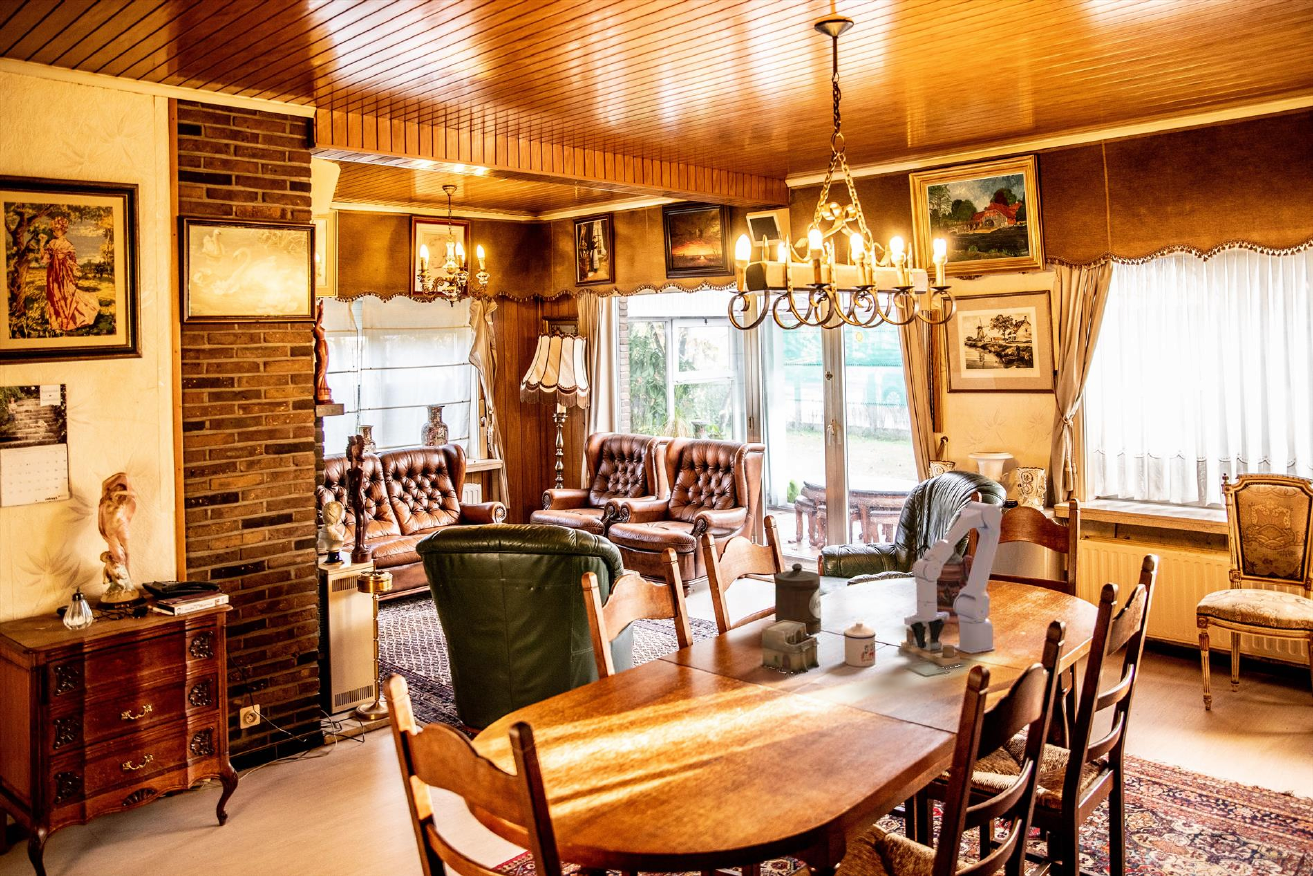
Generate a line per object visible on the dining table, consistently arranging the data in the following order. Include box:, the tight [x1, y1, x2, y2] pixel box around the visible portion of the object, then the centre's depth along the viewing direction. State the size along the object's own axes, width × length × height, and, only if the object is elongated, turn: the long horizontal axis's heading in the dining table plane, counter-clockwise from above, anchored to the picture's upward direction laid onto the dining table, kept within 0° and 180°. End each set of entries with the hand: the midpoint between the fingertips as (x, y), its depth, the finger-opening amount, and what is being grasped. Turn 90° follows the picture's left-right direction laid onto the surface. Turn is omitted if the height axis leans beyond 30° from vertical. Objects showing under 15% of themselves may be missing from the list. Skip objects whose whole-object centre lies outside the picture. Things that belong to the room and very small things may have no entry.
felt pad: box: [903, 661, 950, 677], centre depth 277 cm, size 8×10×1 cm
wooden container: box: [774, 562, 822, 635], centre depth 323 cm, size 15×15×22 cm
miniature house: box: [759, 620, 820, 675], centre depth 285 cm, size 15×14×11 cm
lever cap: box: [913, 635, 943, 652], centre depth 289 cm, size 8×4×3 cm, turn 22°
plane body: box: [898, 627, 964, 670], centre depth 288 cm, size 22×6×6 cm, turn 22°
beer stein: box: [937, 545, 976, 624], centre depth 330 cm, size 17×28×18 cm
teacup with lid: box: [843, 621, 876, 668], centre depth 287 cm, size 12×9×12 cm
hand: (927, 646), depth 289 cm, fingers closed on lever cap, 4 cm apart
